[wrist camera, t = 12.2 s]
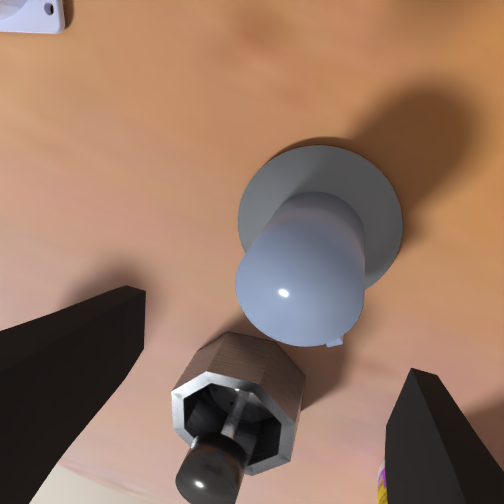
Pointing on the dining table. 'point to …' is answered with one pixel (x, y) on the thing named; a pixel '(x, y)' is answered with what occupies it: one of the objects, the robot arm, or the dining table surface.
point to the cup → (305, 272)
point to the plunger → (219, 451)
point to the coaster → (333, 182)
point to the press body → (247, 379)
